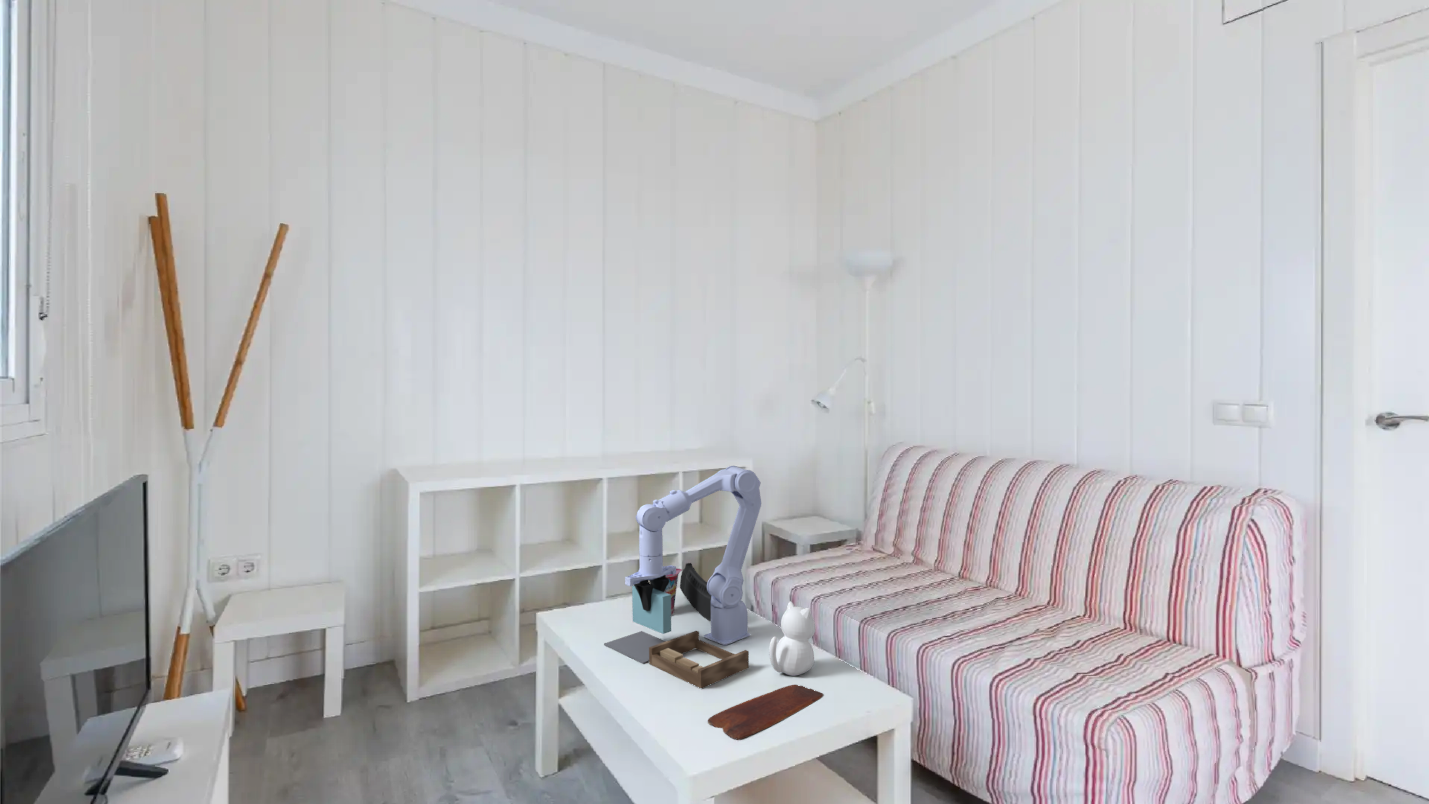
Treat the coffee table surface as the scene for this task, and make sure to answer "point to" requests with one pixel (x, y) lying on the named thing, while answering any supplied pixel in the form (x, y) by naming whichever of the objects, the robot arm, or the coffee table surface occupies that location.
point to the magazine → (696, 591)
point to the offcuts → (680, 659)
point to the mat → (635, 645)
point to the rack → (705, 674)
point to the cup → (672, 588)
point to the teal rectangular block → (653, 611)
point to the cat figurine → (794, 642)
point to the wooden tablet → (763, 711)
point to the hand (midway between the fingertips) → (651, 608)
